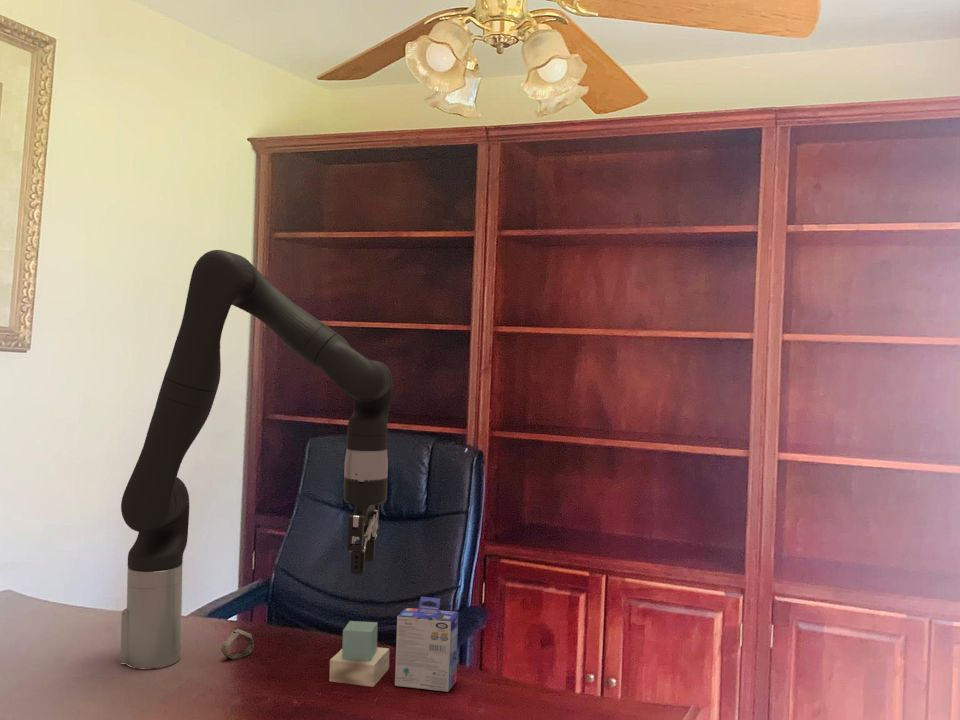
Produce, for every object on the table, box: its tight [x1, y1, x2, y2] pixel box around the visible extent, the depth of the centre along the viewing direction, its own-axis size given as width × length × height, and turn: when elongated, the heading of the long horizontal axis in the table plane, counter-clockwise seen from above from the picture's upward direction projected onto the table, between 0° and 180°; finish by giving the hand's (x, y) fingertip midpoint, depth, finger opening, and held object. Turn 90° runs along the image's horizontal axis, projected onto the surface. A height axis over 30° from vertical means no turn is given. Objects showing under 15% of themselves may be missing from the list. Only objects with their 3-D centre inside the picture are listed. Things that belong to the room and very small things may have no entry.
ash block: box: [328, 646, 390, 687], centre depth 144 cm, size 8×8×4 cm
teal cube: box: [341, 620, 378, 661], centre depth 144 cm, size 5×5×5 cm
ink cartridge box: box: [394, 596, 459, 693], centre depth 141 cm, size 10×6×14 cm, turn 78°
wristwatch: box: [221, 628, 255, 660], centre depth 151 cm, size 4×6×5 cm, turn 144°
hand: (362, 566), depth 144 cm, fingers open, 8 cm apart
